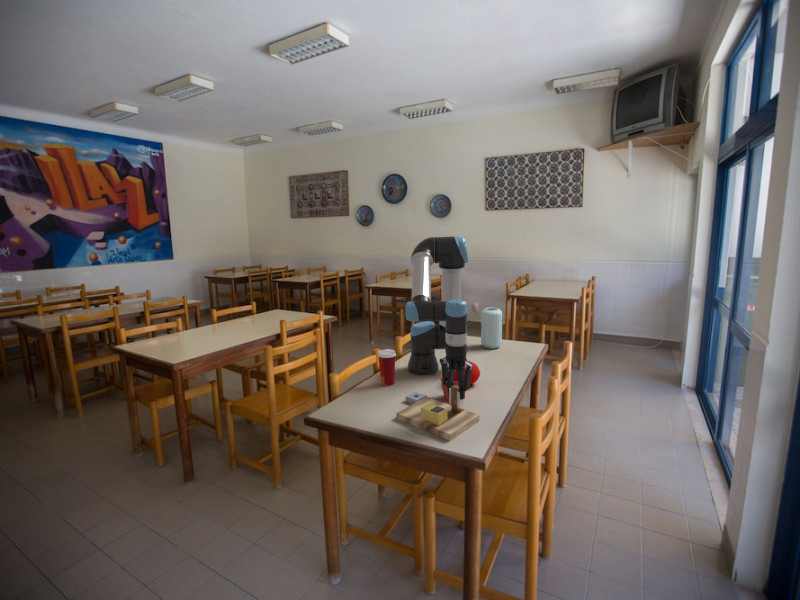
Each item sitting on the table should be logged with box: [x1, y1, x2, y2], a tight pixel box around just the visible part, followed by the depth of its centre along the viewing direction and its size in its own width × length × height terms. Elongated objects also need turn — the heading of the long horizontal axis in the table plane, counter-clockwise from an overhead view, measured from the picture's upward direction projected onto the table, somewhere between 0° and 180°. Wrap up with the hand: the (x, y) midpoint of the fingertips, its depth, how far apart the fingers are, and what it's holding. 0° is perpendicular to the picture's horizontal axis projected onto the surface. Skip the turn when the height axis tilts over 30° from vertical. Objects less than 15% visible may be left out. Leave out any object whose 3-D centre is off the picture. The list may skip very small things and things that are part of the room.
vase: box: [480, 306, 503, 350], centre depth 230 cm, size 12×12×22 cm
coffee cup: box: [376, 348, 397, 387], centre depth 180 cm, size 8×8×15 cm
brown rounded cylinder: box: [451, 386, 462, 413], centre depth 148 cm, size 3×3×11 cm
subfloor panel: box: [395, 396, 480, 442], centre depth 147 cm, size 24×18×2 cm
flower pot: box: [439, 371, 465, 402], centre depth 164 cm, size 11×11×10 cm
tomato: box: [455, 360, 481, 385], centre depth 179 cm, size 11×12×10 cm
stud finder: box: [421, 403, 448, 425], centre depth 142 cm, size 8×5×4 cm, turn 47°
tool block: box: [405, 391, 428, 405], centre depth 163 cm, size 6×6×2 cm
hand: (456, 405), depth 148 cm, fingers closed on brown rounded cylinder, 3 cm apart
